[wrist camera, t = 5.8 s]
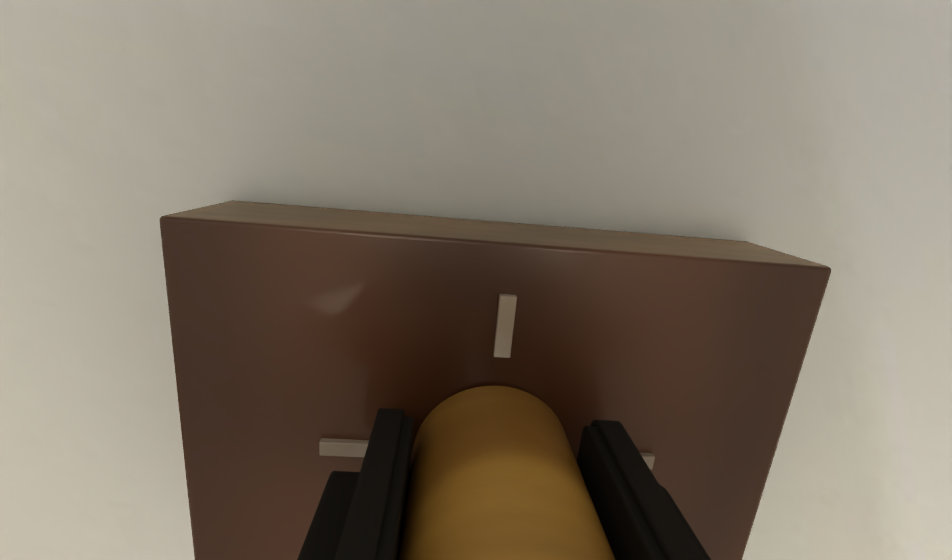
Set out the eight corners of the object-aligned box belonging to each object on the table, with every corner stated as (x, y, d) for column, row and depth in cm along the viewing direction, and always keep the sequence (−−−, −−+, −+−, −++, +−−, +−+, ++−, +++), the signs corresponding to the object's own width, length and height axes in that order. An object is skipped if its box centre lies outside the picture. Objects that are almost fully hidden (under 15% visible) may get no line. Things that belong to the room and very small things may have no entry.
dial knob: (417, 379, 10) (378, 620, 5) (577, 388, 10) (702, 627, 5) (409, 513, 11) (370, 832, 6) (555, 518, 11) (642, 829, 6)
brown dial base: (747, 241, 13) (840, 269, 10) (674, 530, 15) (729, 624, 12) (230, 199, 12) (151, 217, 9) (249, 516, 14) (194, 614, 11)
